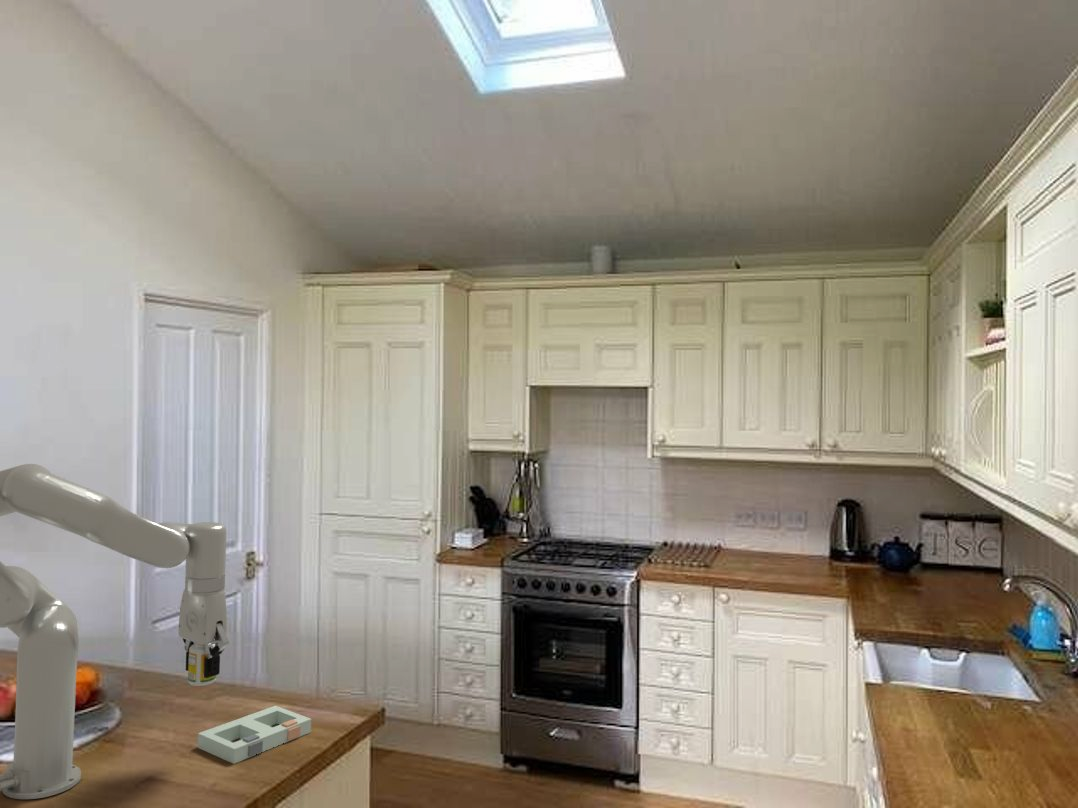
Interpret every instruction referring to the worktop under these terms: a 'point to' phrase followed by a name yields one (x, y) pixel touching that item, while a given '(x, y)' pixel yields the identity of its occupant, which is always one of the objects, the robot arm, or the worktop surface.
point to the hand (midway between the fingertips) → (202, 671)
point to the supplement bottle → (198, 665)
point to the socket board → (253, 734)
